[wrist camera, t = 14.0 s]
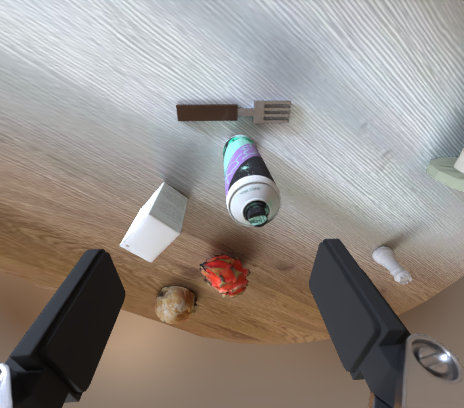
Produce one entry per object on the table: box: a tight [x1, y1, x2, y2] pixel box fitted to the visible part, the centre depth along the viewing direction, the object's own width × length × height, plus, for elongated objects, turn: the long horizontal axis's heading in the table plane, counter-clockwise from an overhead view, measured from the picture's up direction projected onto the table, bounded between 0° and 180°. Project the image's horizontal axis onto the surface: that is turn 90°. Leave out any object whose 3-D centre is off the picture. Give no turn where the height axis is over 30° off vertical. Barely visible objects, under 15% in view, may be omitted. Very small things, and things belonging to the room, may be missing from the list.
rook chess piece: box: [372, 247, 412, 284], centre depth 47 cm, size 4×4×8 cm
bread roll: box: [154, 286, 198, 324], centre depth 53 cm, size 10×10×8 cm
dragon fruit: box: [200, 254, 250, 298], centre depth 46 cm, size 8×8×12 cm
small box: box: [120, 182, 188, 262], centre depth 36 cm, size 8×6×10 cm
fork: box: [176, 101, 291, 124], centre depth 32 cm, size 17×3×1 cm, turn 90°
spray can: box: [223, 134, 281, 227], centre depth 27 cm, size 6×6×20 cm
